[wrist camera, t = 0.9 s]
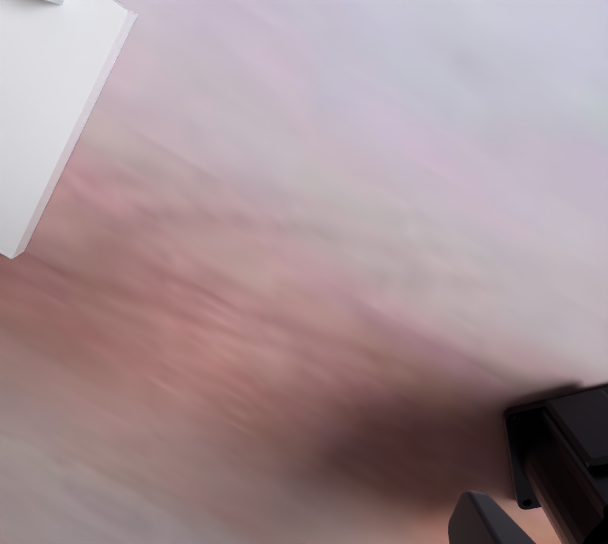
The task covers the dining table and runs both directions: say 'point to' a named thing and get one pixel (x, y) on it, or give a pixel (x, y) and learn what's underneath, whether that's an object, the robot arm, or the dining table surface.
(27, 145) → the tray
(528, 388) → the dining table surface
